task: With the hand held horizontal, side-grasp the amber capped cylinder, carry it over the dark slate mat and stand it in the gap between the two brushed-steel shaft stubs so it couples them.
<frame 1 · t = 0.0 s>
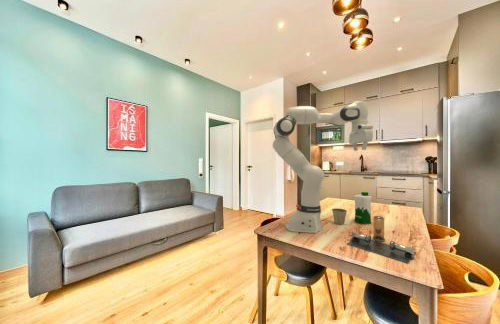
hand: (359, 150, 121), 48 cm above the table, tool pointing down, fingers open, 8 cm apart
amber capped cylinder: (378, 239, 103), on the table
flower pot: (339, 223, 131), on the table
shaft bench: (379, 248, 93), on the table
milk carton: (362, 222, 132), on the table
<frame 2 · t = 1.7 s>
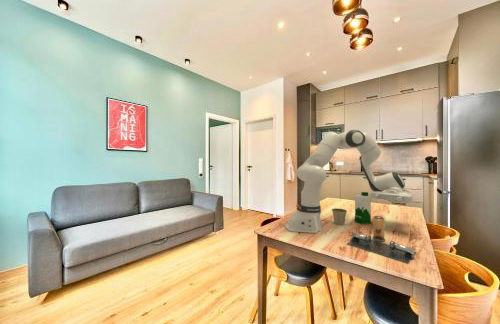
hand: (386, 198, 110), 20 cm above the table, tool horizontal, fingers open, 8 cm apart
nothing on the table moved.
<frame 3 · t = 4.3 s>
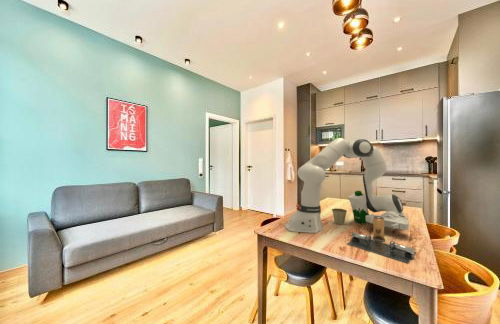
hand: (381, 224, 106), 7 cm above the table, tool horizontal, fingers open, 8 cm apart
milk carton: (362, 221, 131), point 1 cm above the table
everything else where it was.
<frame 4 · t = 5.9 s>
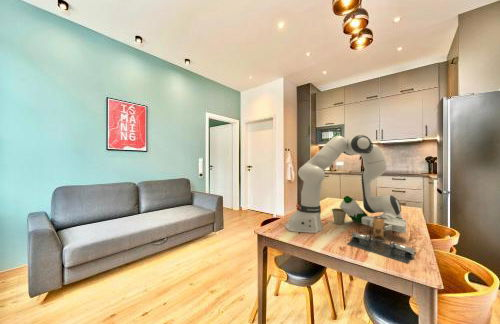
hand: (378, 226, 102), 7 cm above the table, tool horizontal, fingers closed on amber capped cylinder, 5 cm apart
amber capped cylinder: (378, 239, 103), on the table, touching gripper
flower pot: (339, 223, 131), on the table, touching milk carton
milk carton: (360, 218, 131), point 3 cm above the table, touching flower pot
when the fingers open (9 cm above the table, at t = 10.7 s): amber capped cylinder stays where it is, resting on shaft bench.
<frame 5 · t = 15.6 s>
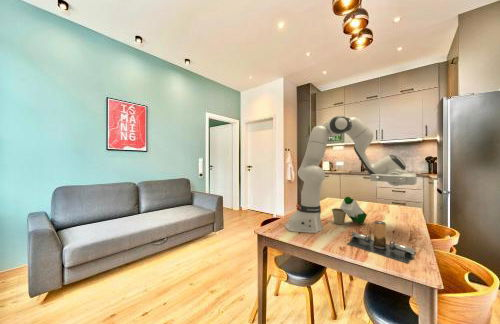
hand: (387, 179, 100), 32 cm above the table, tool horizontal, fingers open, 8 cm apart
amber capped cylinder: (379, 247, 93), point 1 cm above the table, touching shaft bench
at the end: amber capped cylinder 0.0 cm from the shaft bench (horizontally); amber capped cylinder tilted 0°; amber capped cylinder point 0.5 cm above the table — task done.
